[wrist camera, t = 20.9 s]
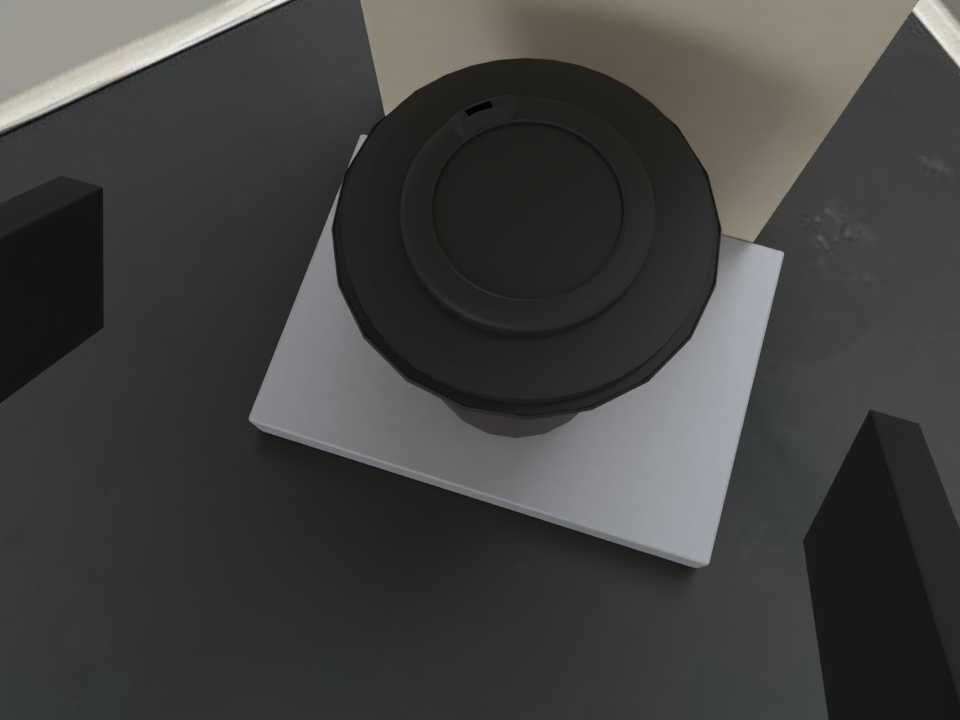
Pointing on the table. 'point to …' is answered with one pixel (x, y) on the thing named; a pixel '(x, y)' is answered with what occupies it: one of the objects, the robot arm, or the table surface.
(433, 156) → the coffee cup
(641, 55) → the coffee maker
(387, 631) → the table surface
